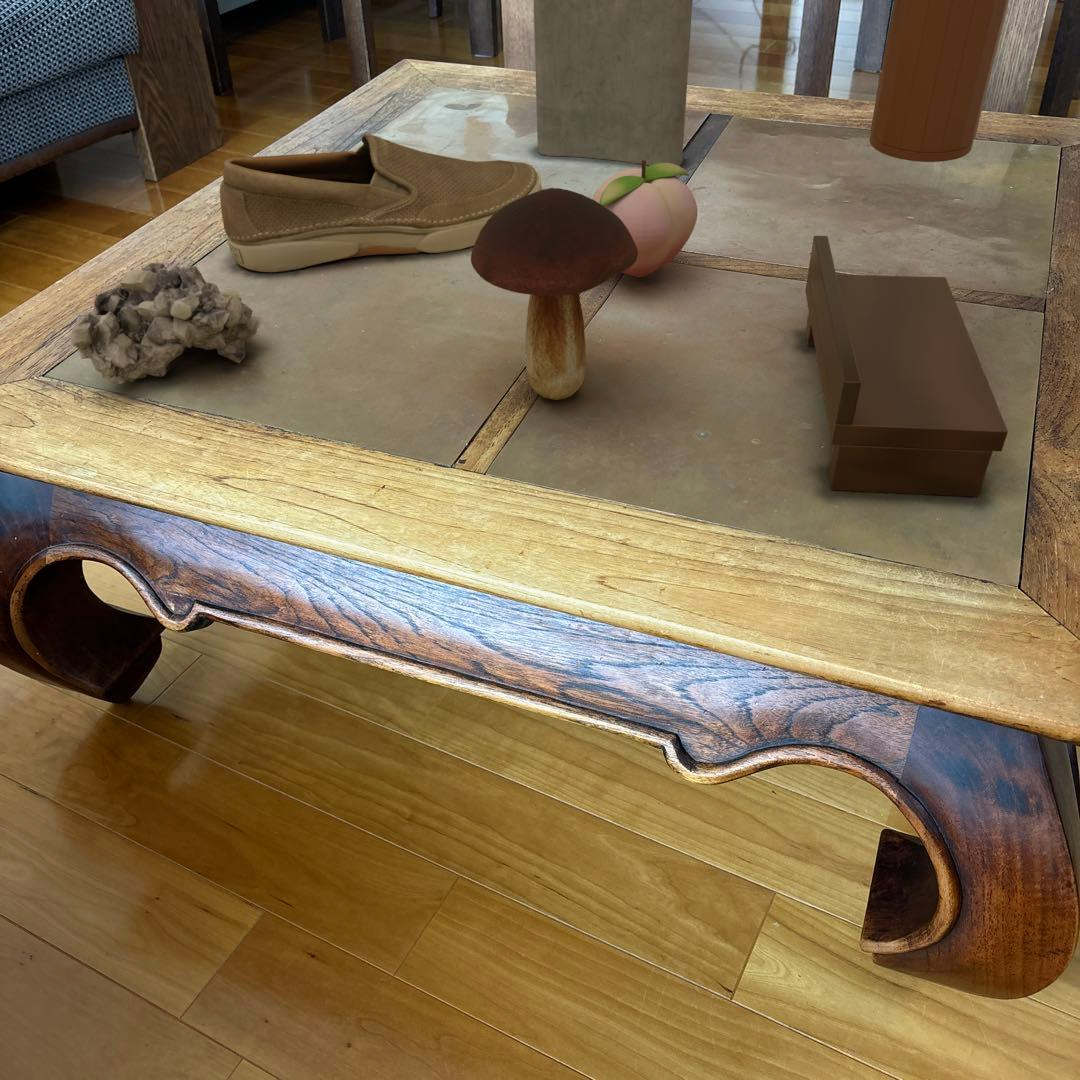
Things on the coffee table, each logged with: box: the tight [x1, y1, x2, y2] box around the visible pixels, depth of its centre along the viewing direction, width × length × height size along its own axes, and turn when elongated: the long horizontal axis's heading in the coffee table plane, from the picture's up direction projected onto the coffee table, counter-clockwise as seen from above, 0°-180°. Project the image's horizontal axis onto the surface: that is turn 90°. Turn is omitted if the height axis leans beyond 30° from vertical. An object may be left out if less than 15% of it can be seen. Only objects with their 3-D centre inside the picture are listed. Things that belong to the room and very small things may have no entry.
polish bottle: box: [869, 0, 1010, 163], centre depth 60 cm, size 6×6×16 cm
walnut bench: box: [804, 235, 1009, 498], centre depth 69 cm, size 10×20×8 cm, turn 174°
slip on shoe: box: [219, 133, 543, 273], centre depth 93 cm, size 30×11×9 cm, turn 106°
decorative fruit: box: [591, 160, 698, 278], centre depth 85 cm, size 9×8×10 cm
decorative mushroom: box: [470, 187, 638, 401], centre depth 69 cm, size 11×11×15 cm
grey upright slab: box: [533, 0, 693, 167], centre depth 103 cm, size 16×4×20 cm, turn 70°
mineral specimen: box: [69, 261, 263, 385], centre depth 76 cm, size 12×9×10 cm
